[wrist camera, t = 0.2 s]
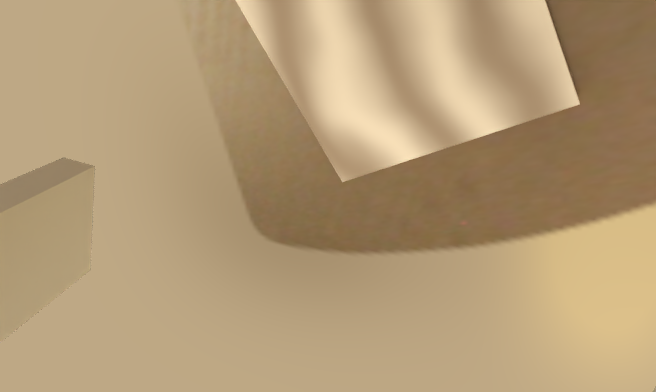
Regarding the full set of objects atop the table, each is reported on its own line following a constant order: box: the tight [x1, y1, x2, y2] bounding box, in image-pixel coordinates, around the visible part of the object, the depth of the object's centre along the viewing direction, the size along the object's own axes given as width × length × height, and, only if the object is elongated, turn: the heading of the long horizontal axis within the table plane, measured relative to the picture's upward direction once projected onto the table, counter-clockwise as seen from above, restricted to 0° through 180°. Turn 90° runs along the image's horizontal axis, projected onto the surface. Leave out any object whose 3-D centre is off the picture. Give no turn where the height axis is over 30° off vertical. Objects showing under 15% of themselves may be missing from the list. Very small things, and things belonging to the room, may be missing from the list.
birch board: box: [236, 0, 580, 182], centre depth 34 cm, size 18×18×2 cm
